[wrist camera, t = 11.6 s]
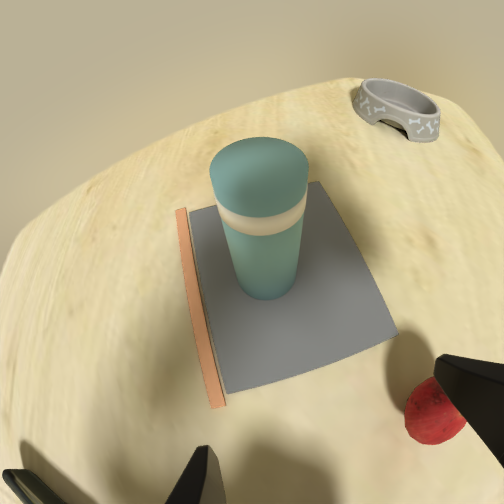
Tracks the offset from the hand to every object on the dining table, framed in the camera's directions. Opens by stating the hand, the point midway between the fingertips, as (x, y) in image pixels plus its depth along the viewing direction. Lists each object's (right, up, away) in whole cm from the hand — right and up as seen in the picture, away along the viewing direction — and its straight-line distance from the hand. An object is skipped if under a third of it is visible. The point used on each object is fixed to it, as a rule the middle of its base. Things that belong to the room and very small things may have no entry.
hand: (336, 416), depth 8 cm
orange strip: (-9, +2, +18) cm, 20 cm away
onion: (+12, -9, +10) cm, 18 cm away
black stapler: (-23, -22, +4) cm, 32 cm away
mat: (0, +4, +19) cm, 19 cm away
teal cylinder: (-2, +4, +18) cm, 19 cm away
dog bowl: (+25, +32, +35) cm, 53 cm away
